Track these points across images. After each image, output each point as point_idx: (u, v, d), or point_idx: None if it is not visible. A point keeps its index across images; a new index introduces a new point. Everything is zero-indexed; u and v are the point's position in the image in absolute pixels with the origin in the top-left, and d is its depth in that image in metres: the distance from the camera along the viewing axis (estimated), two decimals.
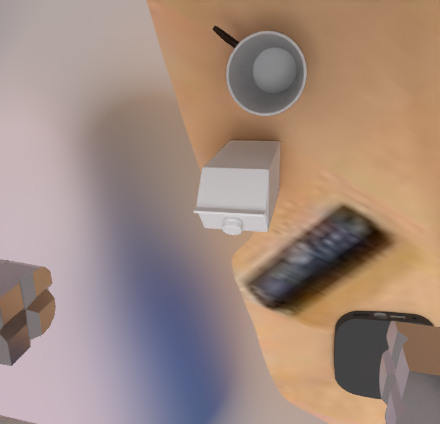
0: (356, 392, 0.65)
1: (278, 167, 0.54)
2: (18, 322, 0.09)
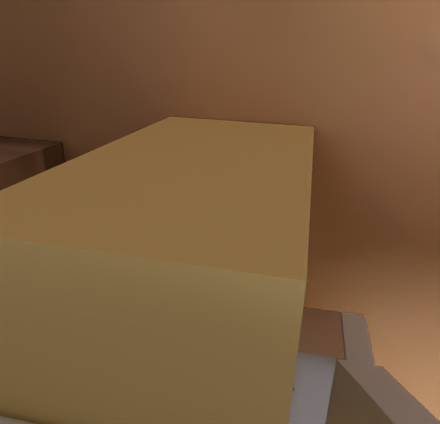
0: None
1: None
2: None
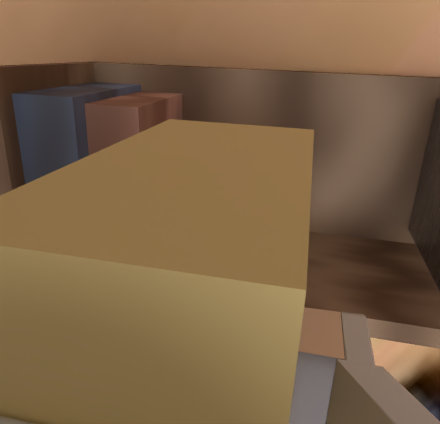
0: None
1: None
2: None
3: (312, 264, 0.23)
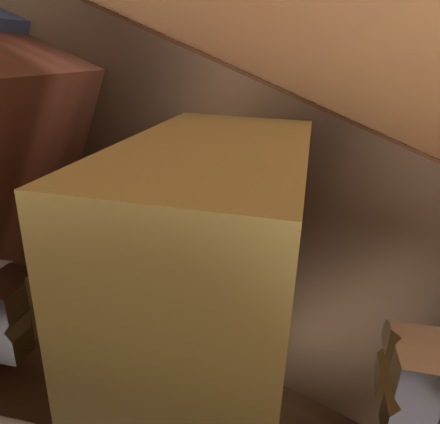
0: None
1: None
2: (23, 323, 0.09)
3: None
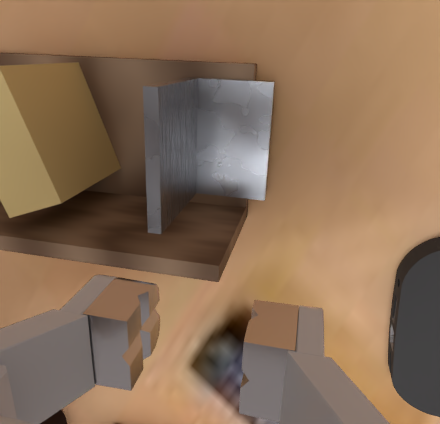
0: None
1: None
2: (135, 344, 0.09)
3: (88, 215, 0.28)
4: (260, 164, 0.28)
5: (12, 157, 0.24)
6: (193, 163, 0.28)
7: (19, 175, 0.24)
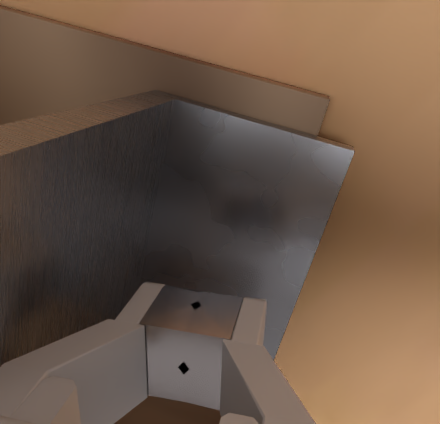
0: None
1: None
2: None
3: None
4: (277, 308, 0.13)
5: None
6: (133, 279, 0.13)
7: None
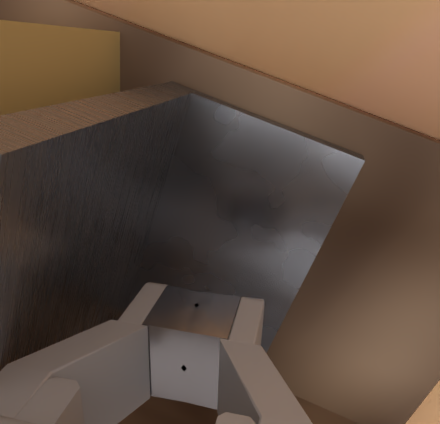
0: None
1: None
2: None
3: None
4: (273, 308, 0.13)
5: None
6: (133, 268, 0.13)
7: None
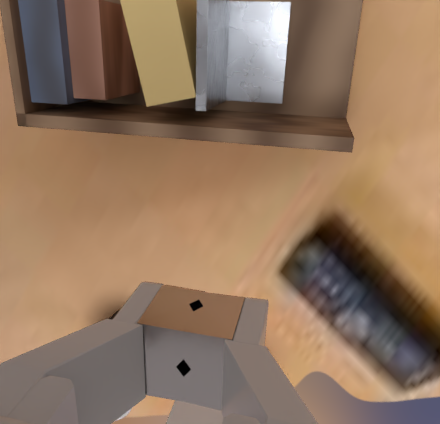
0: None
1: None
2: None
3: (222, 118, 0.34)
4: (279, 72, 0.35)
5: (162, 55, 0.29)
6: (225, 72, 0.35)
7: (164, 71, 0.30)
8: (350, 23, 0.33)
